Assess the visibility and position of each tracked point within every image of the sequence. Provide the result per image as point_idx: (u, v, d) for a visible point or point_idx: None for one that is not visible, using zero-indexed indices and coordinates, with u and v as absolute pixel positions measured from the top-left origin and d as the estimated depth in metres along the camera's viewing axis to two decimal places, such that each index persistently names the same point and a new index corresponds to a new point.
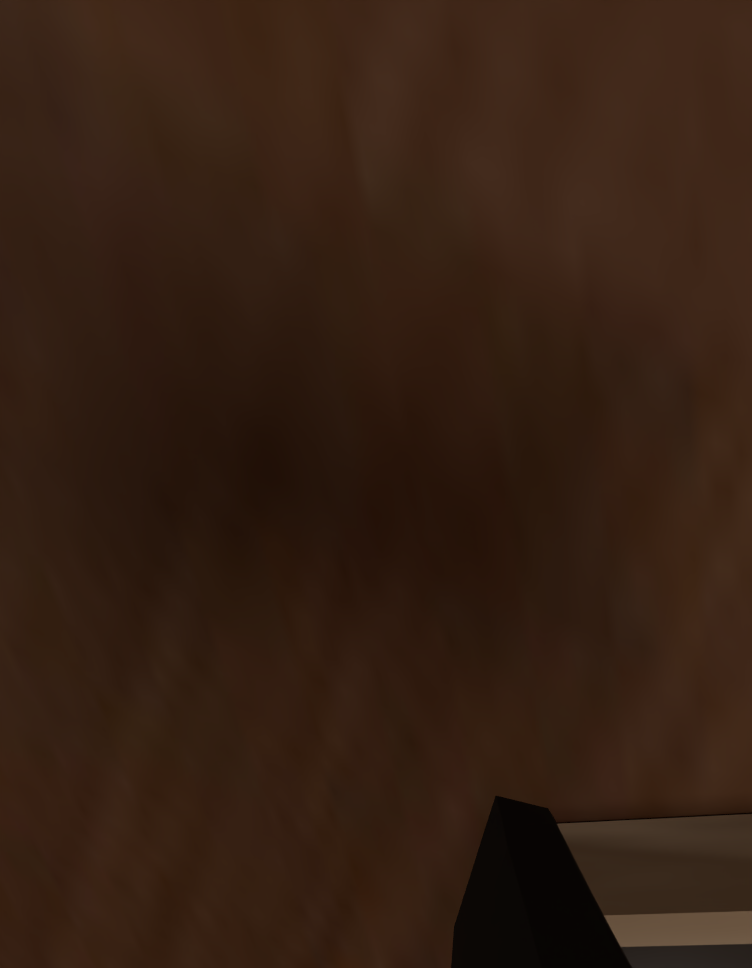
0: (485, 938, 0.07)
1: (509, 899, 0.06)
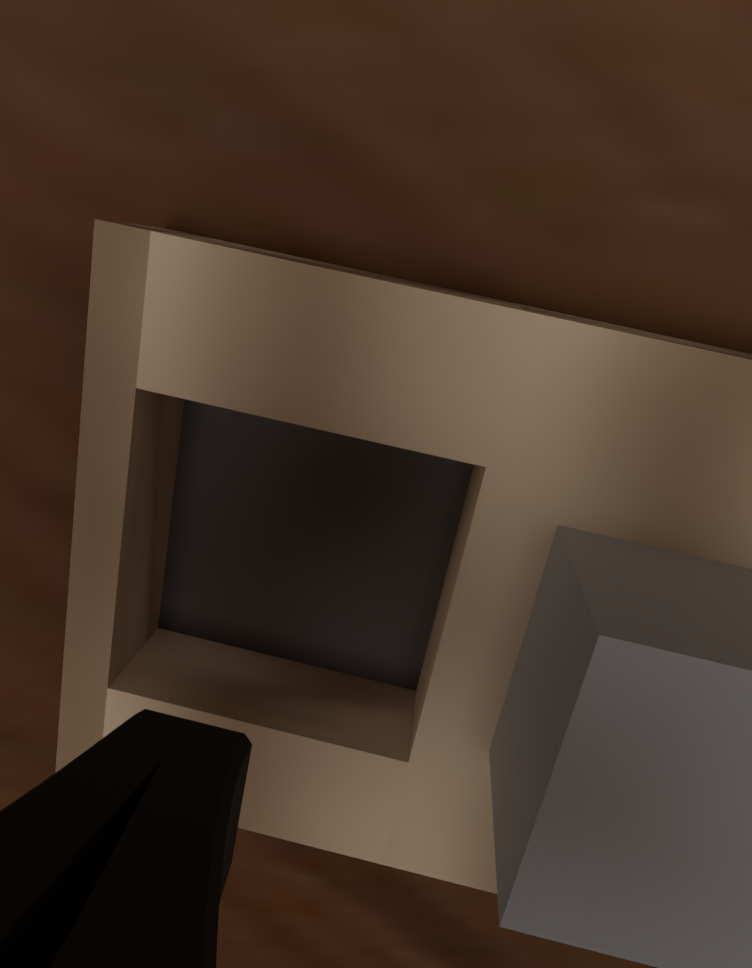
0: None
1: None
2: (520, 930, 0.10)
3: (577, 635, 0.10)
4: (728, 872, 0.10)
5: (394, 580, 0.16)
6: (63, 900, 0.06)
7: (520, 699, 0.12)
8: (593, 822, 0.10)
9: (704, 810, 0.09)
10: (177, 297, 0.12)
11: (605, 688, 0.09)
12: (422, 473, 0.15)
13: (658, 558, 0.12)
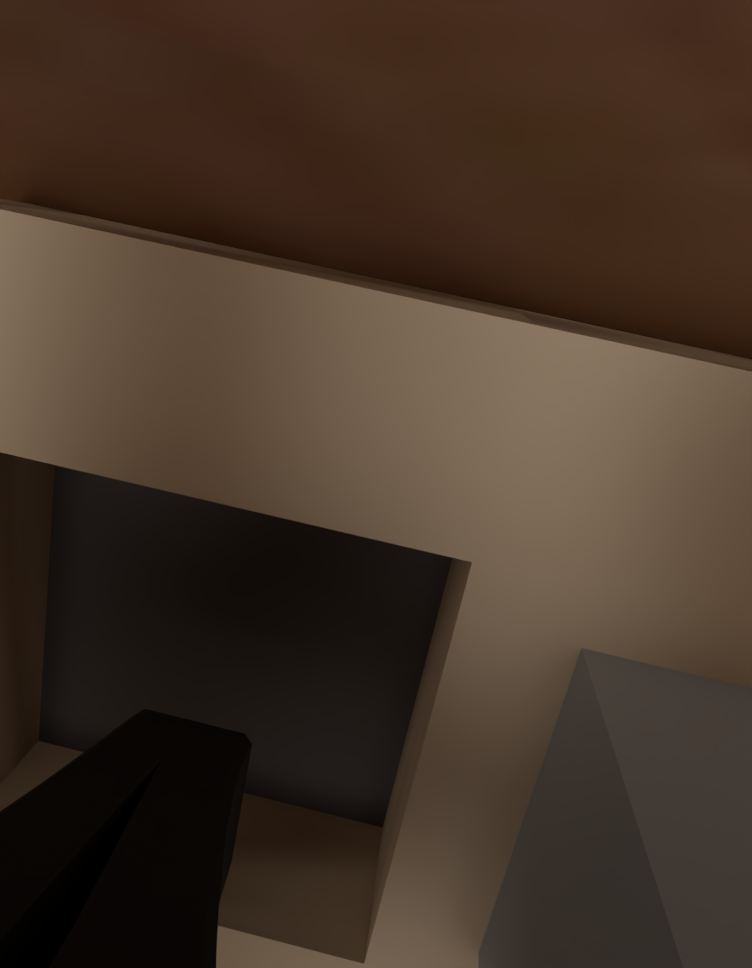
0: None
1: None
2: None
3: (629, 911, 0.05)
4: None
5: (351, 686, 0.12)
6: (63, 900, 0.06)
7: (524, 919, 0.08)
8: None
9: None
10: None
11: None
12: (387, 545, 0.11)
13: (741, 711, 0.08)
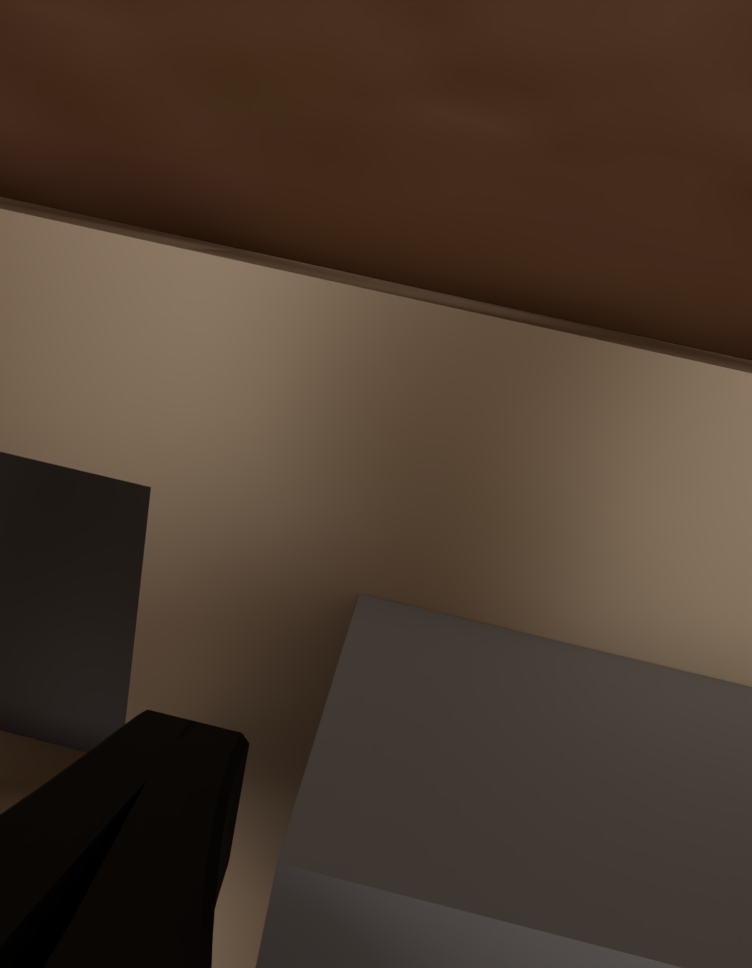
0: None
1: None
2: None
3: None
4: None
5: (130, 632, 0.12)
6: (66, 901, 0.06)
7: None
8: None
9: None
10: None
11: (303, 953, 0.05)
12: (149, 489, 0.11)
13: (498, 651, 0.08)
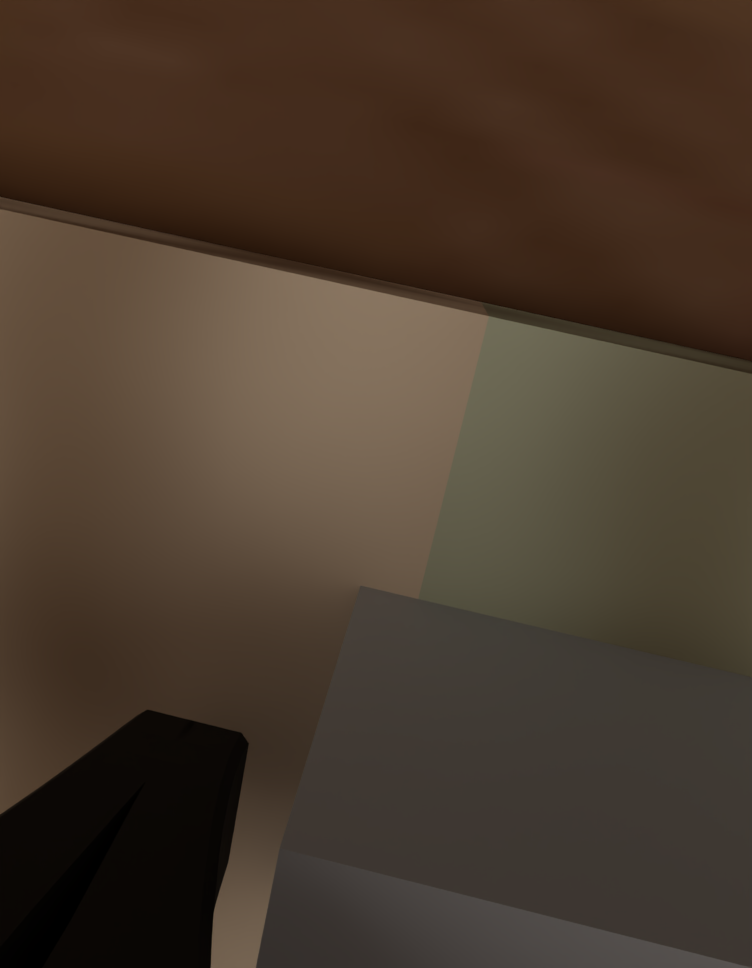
0: None
1: None
2: None
3: None
4: None
5: None
6: (66, 901, 0.06)
7: None
8: None
9: None
10: None
11: (306, 939, 0.05)
12: None
13: (500, 642, 0.08)
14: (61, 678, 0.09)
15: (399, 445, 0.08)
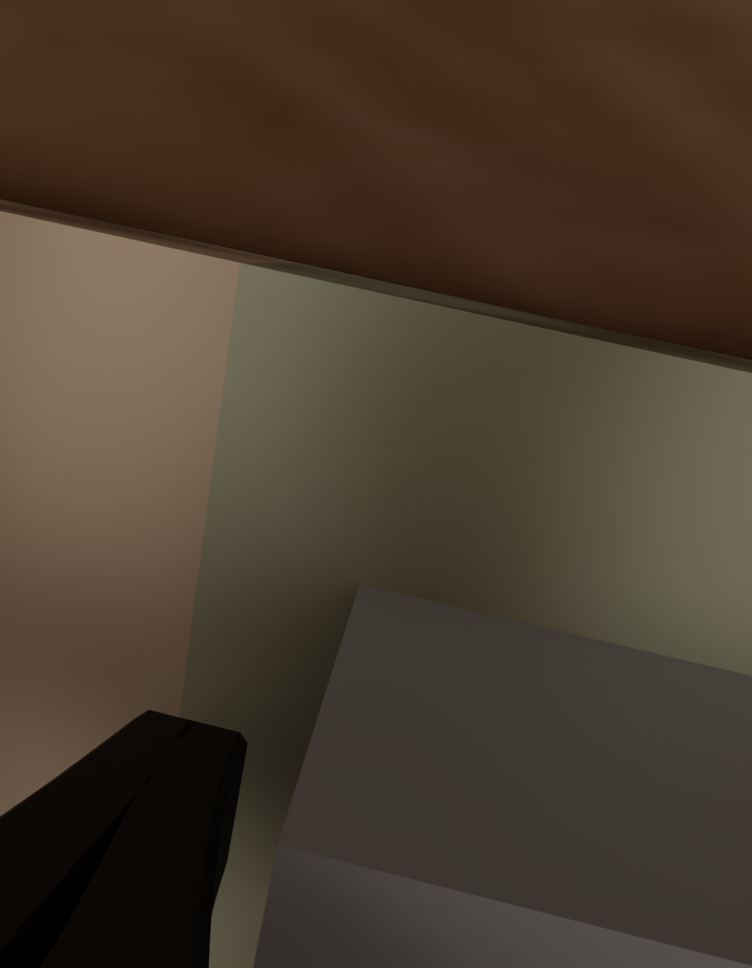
0: None
1: None
2: None
3: None
4: None
5: None
6: (69, 901, 0.06)
7: None
8: None
9: None
10: None
11: (303, 935, 0.05)
12: None
13: (499, 640, 0.08)
14: None
15: (167, 393, 0.08)
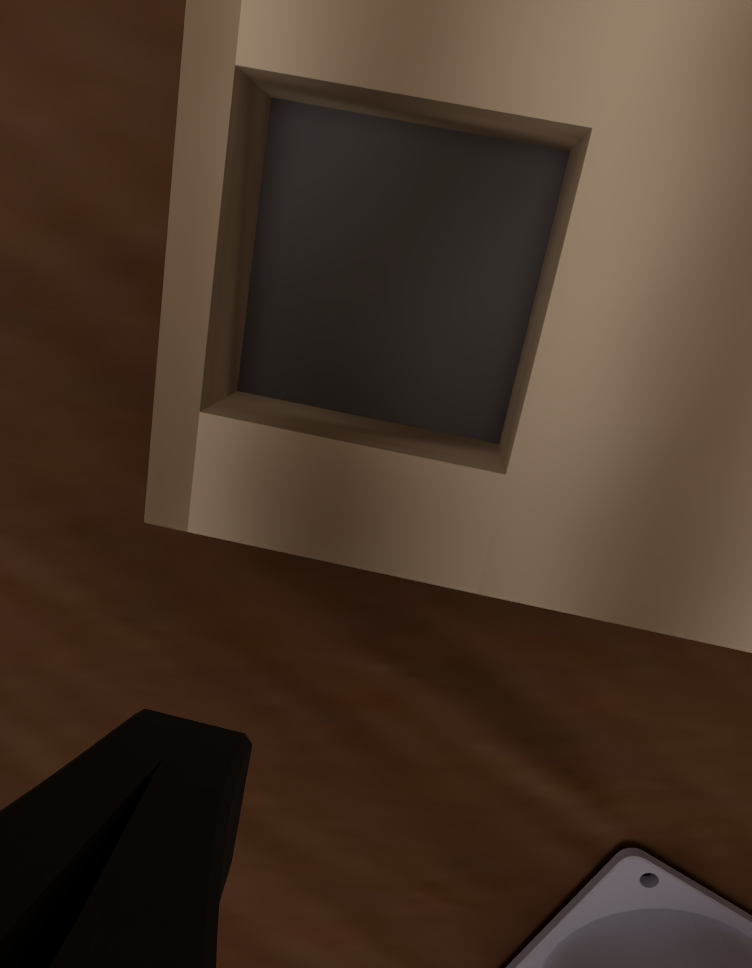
0: None
1: None
2: None
3: None
4: None
5: (478, 321, 0.16)
6: (62, 900, 0.06)
7: None
8: None
9: None
10: None
11: None
12: (509, 199, 0.15)
13: None
14: (745, 336, 0.13)
15: None
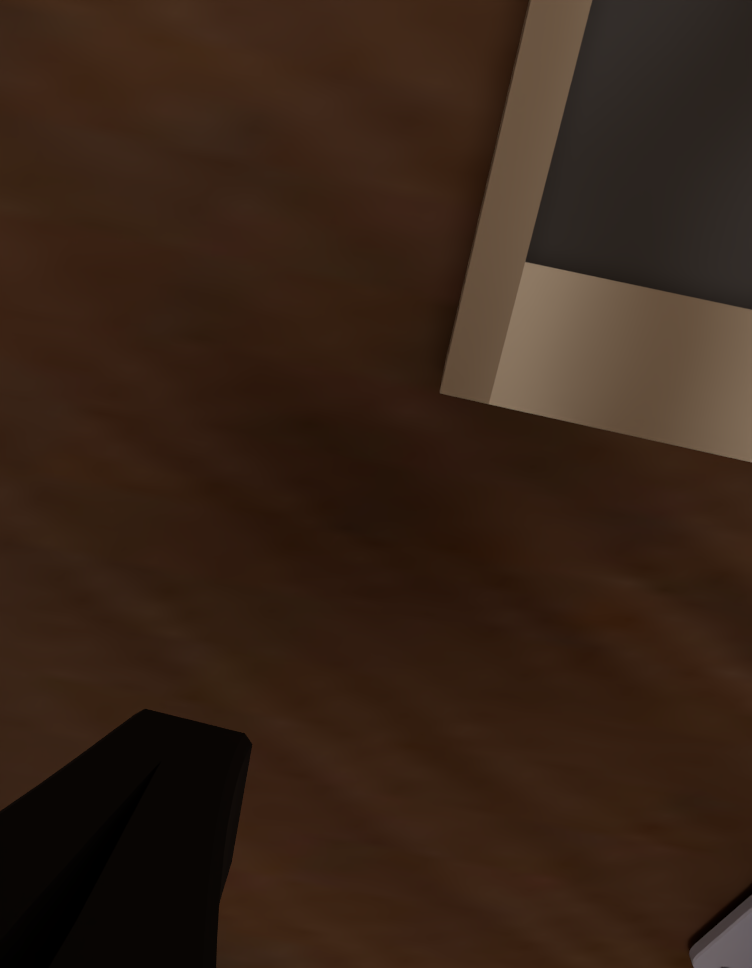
0: None
1: None
2: None
3: None
4: None
5: None
6: (63, 900, 0.06)
7: None
8: None
9: None
10: None
11: None
12: None
13: None
14: None
15: None
